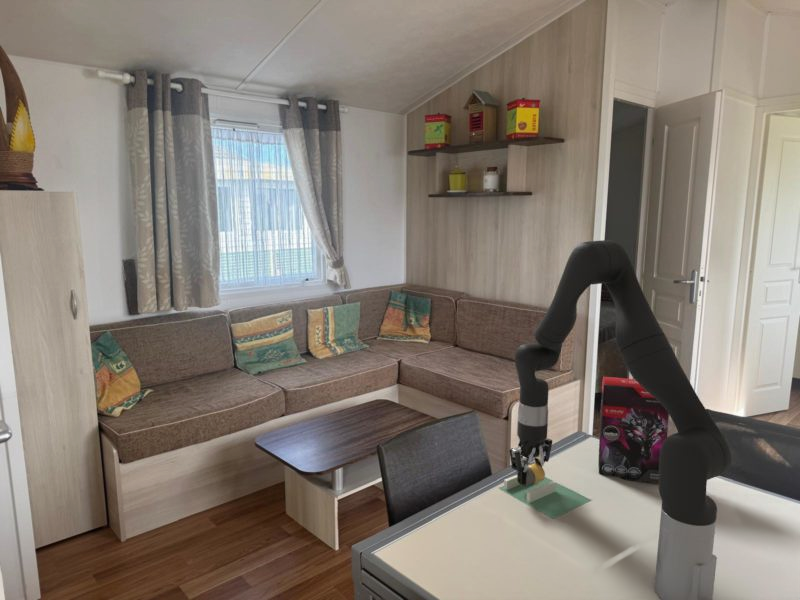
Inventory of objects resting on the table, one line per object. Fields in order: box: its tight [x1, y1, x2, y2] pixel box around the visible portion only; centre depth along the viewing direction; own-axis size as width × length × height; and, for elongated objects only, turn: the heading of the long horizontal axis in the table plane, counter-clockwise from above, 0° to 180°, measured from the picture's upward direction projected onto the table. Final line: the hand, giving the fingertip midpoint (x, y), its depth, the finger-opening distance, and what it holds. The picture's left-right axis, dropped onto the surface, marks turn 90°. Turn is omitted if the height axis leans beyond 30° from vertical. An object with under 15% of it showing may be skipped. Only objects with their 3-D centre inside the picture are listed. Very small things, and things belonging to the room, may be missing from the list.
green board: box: [498, 476, 592, 520], centre depth 145 cm, size 18×15×1 cm
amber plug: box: [516, 462, 546, 487], centre depth 146 cm, size 5×5×5 cm
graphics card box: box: [597, 376, 670, 485], centre depth 155 cm, size 17×7×27 cm, turn 73°
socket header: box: [503, 474, 557, 503], centre depth 147 cm, size 9×10×2 cm
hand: (529, 480), depth 147 cm, fingers closed on amber plug, 5 cm apart
